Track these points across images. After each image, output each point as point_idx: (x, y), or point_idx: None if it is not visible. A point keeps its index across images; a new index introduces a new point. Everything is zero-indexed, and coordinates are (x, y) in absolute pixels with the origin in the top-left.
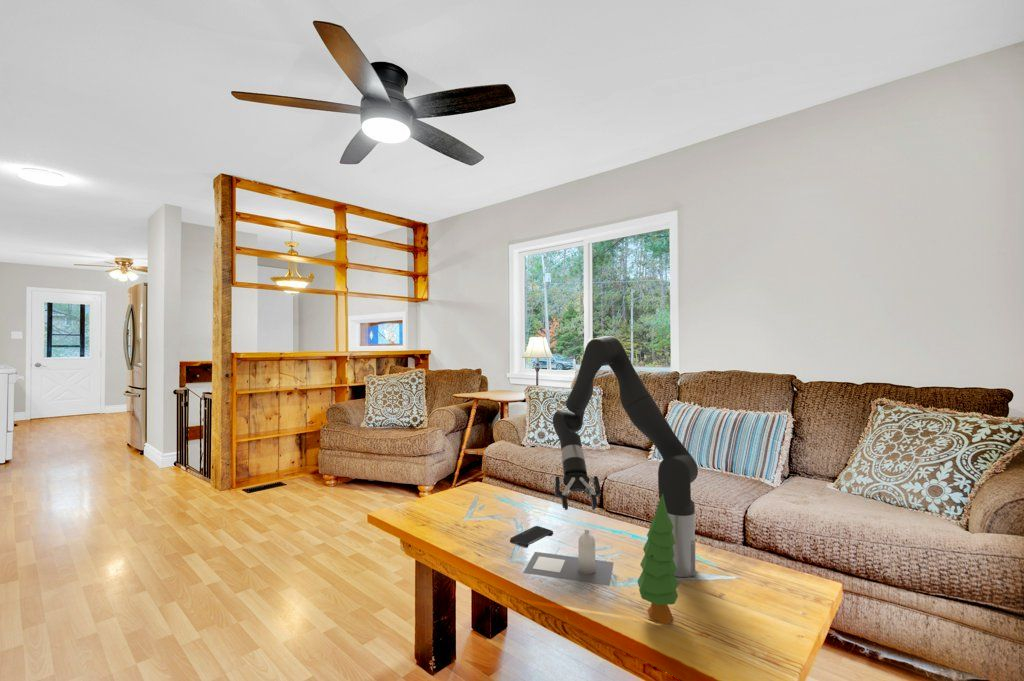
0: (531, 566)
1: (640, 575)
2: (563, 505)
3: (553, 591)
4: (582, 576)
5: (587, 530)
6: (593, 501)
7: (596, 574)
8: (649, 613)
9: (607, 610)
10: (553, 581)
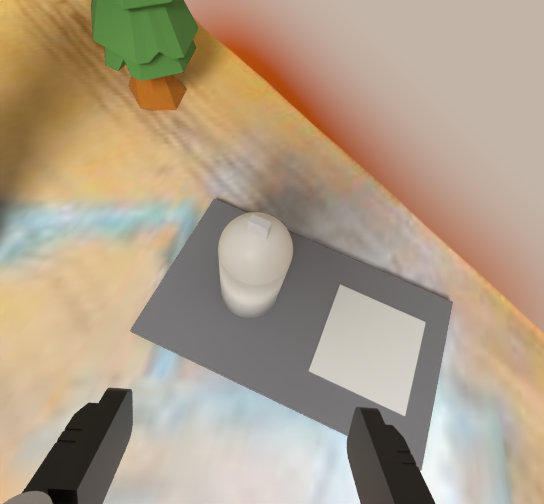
0: (429, 338)
1: (175, 33)
2: (396, 432)
3: (365, 210)
4: None
5: (258, 217)
6: (101, 423)
7: None
8: (177, 87)
9: (257, 127)
10: (361, 255)
